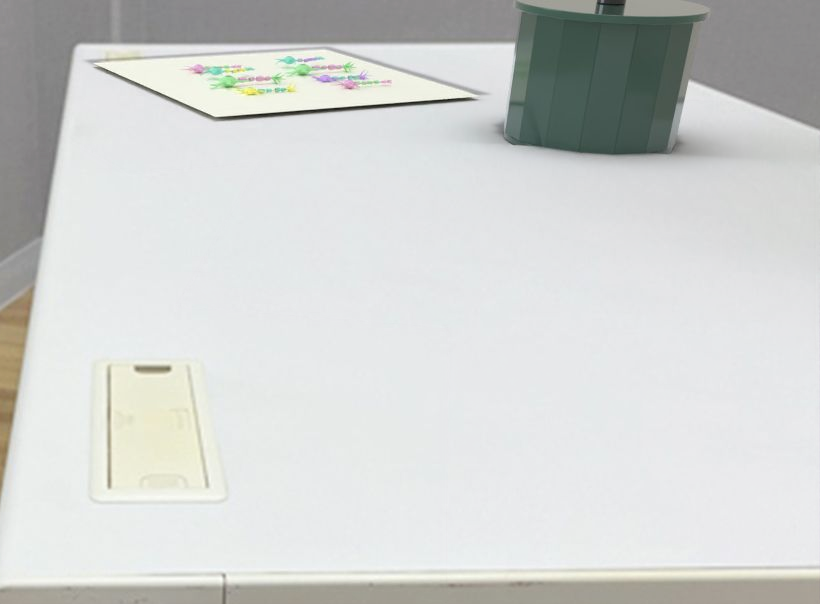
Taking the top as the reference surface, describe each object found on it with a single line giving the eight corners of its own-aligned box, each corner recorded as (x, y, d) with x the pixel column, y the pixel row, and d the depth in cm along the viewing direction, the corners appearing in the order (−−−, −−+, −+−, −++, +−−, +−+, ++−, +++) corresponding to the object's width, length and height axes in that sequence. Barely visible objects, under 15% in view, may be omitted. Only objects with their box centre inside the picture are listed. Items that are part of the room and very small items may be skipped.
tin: (659, 128, 112) (684, 4, 106) (684, 165, 100) (715, 27, 94) (500, 119, 114) (517, -4, 108) (506, 154, 102) (526, 18, 96)
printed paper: (215, 120, 110) (215, 103, 109) (92, 66, 132) (92, 51, 131) (479, 99, 122) (481, 84, 121) (326, 53, 144) (327, 39, 143)
